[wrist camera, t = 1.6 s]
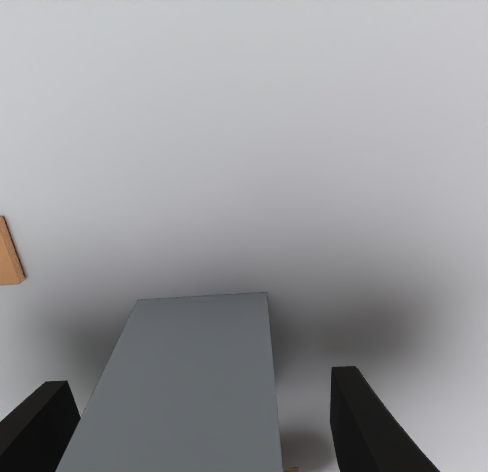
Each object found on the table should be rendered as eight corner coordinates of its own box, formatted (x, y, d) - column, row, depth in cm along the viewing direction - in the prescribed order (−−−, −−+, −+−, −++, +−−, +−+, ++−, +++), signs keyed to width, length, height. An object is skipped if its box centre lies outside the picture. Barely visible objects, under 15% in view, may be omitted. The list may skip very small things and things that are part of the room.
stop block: (272, 389, 13) (297, 699, 7) (159, 394, 13) (75, 704, 7) (266, 291, 11) (292, 578, 5) (137, 299, 11) (0, 588, 5)
